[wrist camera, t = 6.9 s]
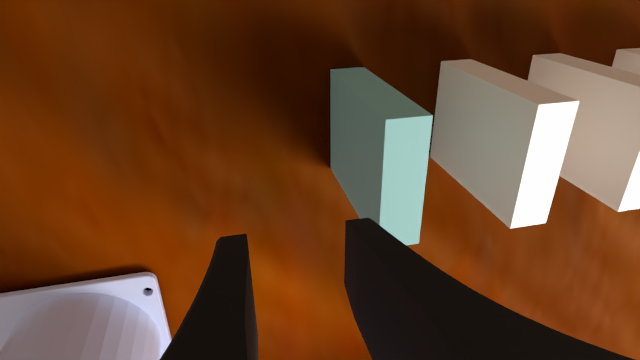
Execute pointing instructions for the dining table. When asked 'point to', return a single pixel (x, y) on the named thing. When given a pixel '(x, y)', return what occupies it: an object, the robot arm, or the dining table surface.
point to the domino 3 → (627, 60)
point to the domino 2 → (598, 126)
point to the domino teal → (379, 150)
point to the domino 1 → (501, 138)
